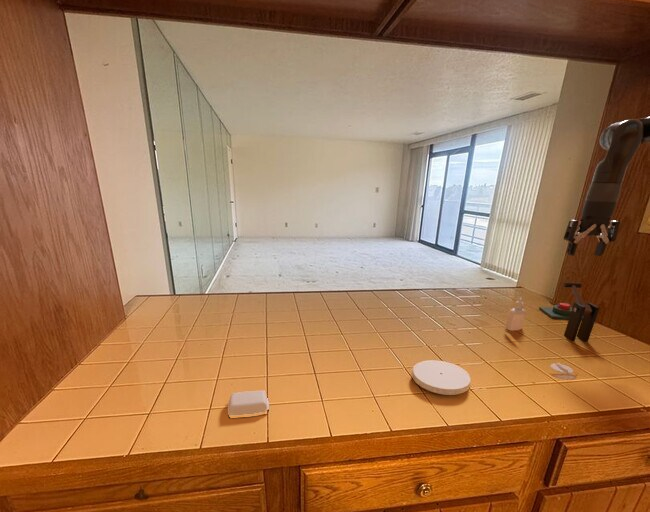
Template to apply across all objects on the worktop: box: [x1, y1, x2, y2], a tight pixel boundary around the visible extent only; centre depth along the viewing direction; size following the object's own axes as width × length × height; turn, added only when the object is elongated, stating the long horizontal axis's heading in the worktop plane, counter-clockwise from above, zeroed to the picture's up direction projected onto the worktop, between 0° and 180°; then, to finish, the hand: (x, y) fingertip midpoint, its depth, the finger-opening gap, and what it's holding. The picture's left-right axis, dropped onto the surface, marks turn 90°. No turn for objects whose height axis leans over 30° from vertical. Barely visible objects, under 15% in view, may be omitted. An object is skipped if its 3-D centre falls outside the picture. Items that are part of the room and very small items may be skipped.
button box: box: [538, 304, 583, 321], centre depth 131 cm, size 12×10×4 cm
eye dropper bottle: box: [504, 297, 527, 334], centre depth 116 cm, size 4×6×12 cm
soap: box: [227, 389, 270, 416], centre depth 76 cm, size 9×7×3 cm
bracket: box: [563, 301, 600, 343], centre depth 109 cm, size 10×8×13 cm
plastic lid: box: [411, 359, 472, 396], centre depth 88 cm, size 14×14×2 cm
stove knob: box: [549, 362, 578, 381], centre depth 93 cm, size 7×7×2 cm
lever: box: [562, 282, 592, 316], centre depth 111 cm, size 13×5×2 cm, turn 175°
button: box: [558, 302, 571, 310], centre depth 130 cm, size 4×4×2 cm
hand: (584, 255), depth 106 cm, fingers open, 8 cm apart
